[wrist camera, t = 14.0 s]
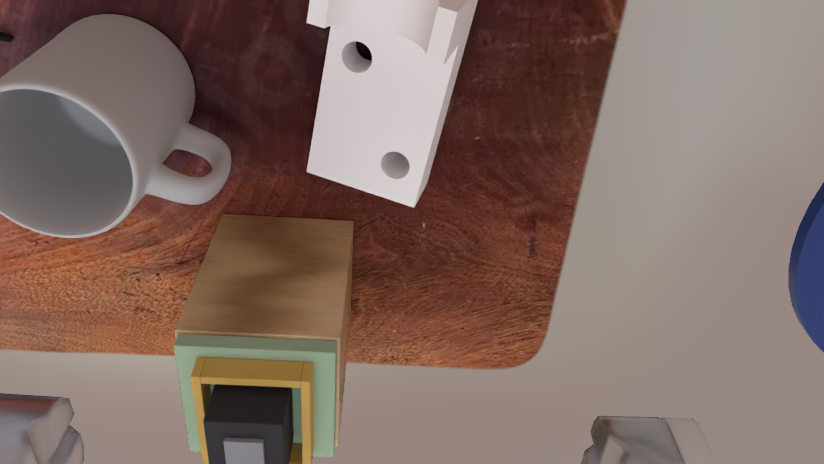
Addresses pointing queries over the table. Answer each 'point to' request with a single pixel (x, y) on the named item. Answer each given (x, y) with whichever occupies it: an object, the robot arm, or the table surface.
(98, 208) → the mug
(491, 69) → the table surface
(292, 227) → the stand
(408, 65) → the bracket
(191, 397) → the base pad
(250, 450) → the black block
